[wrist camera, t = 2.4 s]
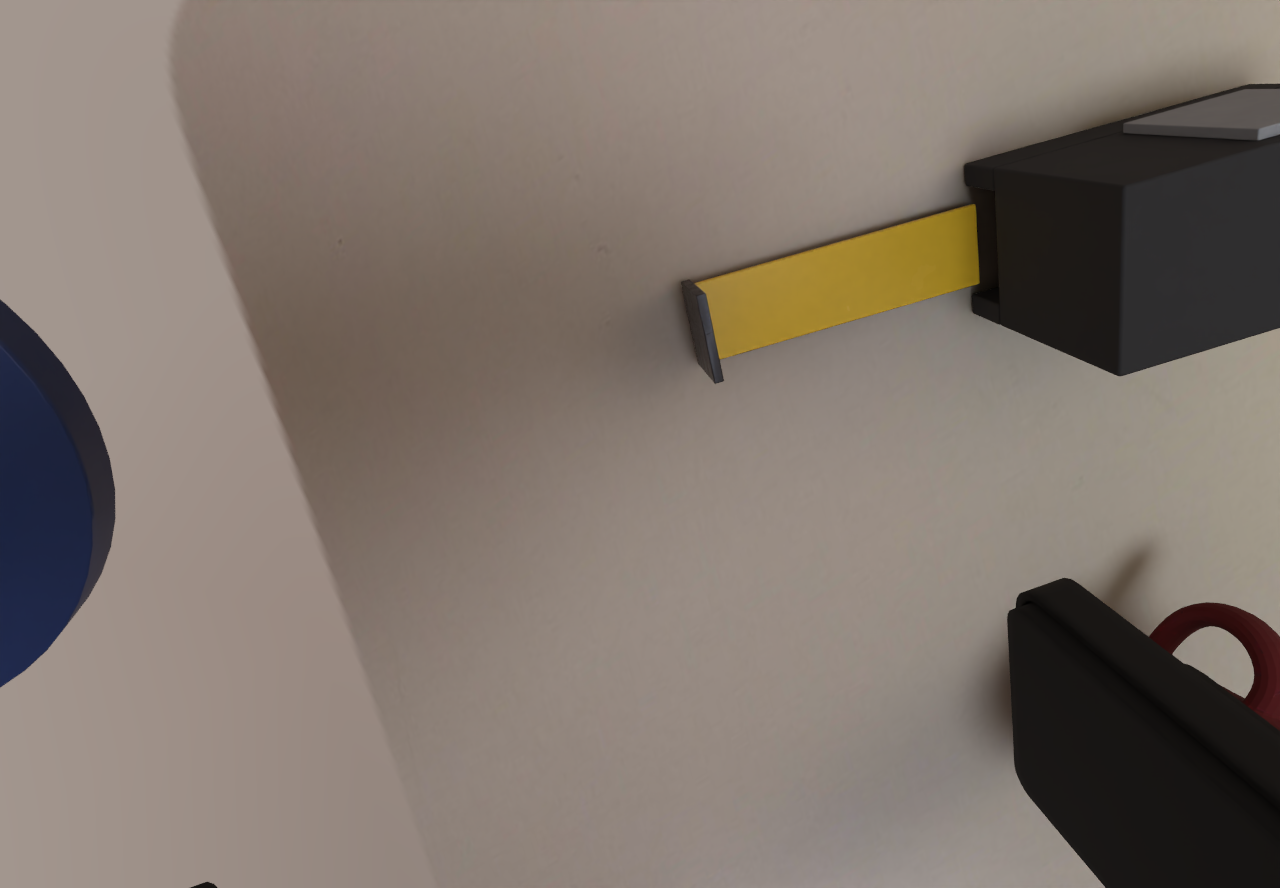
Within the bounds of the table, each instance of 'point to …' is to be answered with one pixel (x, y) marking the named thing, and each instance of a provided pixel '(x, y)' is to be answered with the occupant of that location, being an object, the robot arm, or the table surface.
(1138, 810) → the robot arm
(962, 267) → the tape blade
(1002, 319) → the tape case
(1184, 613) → the mug
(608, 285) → the table surface
